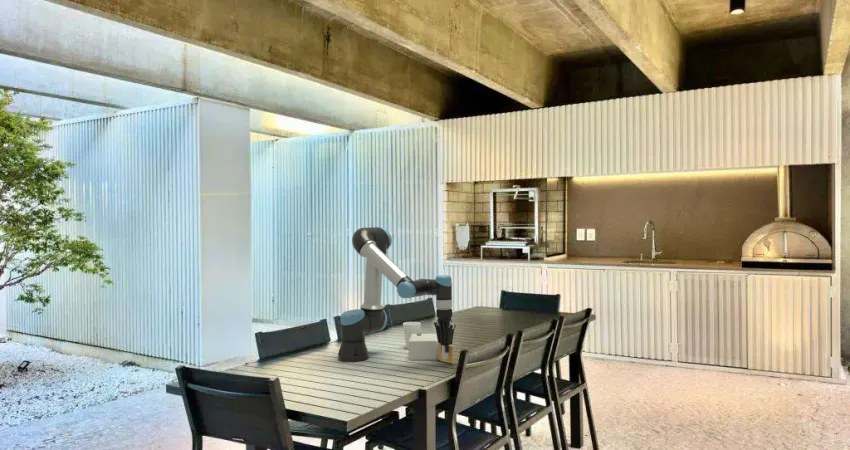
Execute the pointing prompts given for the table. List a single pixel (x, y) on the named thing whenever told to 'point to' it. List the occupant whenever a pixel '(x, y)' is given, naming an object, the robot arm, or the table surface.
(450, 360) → the door
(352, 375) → the table surface
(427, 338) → the housing
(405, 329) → the foam cup
